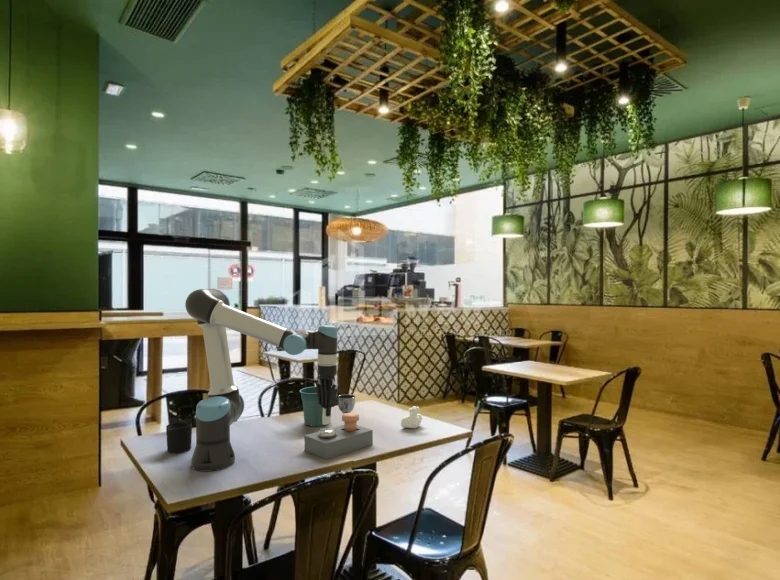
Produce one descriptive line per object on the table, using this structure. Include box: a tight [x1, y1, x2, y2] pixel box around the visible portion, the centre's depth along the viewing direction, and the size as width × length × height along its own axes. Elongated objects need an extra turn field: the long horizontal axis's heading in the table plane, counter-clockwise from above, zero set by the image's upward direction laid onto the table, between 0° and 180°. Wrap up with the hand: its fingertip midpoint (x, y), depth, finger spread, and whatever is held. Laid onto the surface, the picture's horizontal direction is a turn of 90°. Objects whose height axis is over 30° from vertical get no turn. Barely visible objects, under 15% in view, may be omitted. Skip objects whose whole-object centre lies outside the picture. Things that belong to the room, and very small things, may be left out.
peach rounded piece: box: [341, 412, 360, 433], centre depth 198 cm, size 7×7×7 cm
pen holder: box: [165, 421, 193, 454], centre depth 190 cm, size 9×9×10 cm
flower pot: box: [299, 386, 332, 428], centre depth 227 cm, size 16×16×16 cm
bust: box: [400, 405, 423, 429], centre depth 220 cm, size 12×8×11 cm
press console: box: [304, 424, 374, 460], centre depth 193 cm, size 24×14×6 cm, turn 135°
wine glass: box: [337, 393, 356, 414], centre depth 218 cm, size 8×8×15 cm
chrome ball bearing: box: [317, 427, 336, 439], centre depth 189 cm, size 7×7×7 cm
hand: (326, 423), depth 189 cm, fingers closed
